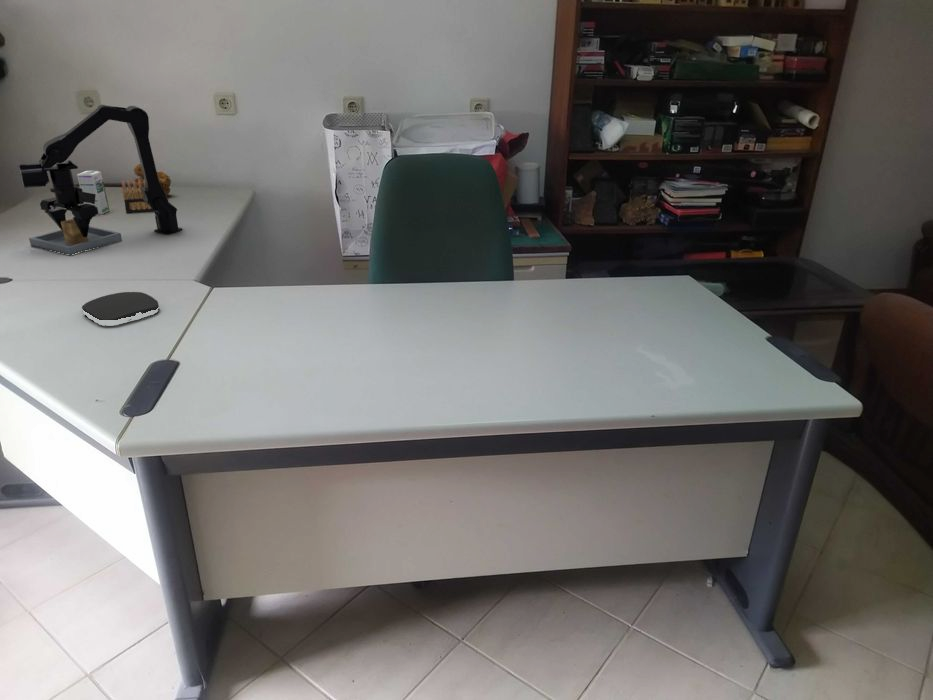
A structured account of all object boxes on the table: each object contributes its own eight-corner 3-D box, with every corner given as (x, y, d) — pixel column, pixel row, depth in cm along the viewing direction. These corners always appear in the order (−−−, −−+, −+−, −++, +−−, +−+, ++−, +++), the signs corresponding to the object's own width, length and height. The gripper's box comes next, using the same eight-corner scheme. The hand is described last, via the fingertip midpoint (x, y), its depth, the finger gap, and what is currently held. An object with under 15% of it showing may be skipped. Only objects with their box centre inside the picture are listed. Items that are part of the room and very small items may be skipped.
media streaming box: (137, 297, 171) (135, 286, 170) (165, 313, 163) (163, 302, 162) (78, 313, 161) (75, 302, 159) (105, 331, 153) (103, 319, 151)
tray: (122, 240, 211) (120, 232, 210) (70, 255, 196) (68, 247, 195) (83, 231, 217) (81, 224, 216) (30, 246, 203) (28, 238, 201)
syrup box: (102, 215, 235) (93, 174, 229) (85, 214, 235) (76, 173, 229) (110, 210, 240) (101, 170, 234) (94, 210, 240) (85, 170, 234)
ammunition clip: (126, 213, 238) (119, 180, 233) (126, 212, 240) (119, 179, 234) (158, 211, 242) (152, 178, 237) (158, 210, 243) (152, 177, 238)
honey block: (88, 240, 207) (83, 220, 204) (75, 244, 204) (70, 223, 201) (78, 238, 209) (74, 218, 206) (65, 242, 205) (60, 221, 202)
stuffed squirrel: (136, 194, 263) (130, 161, 257) (174, 193, 267) (169, 160, 261) (134, 200, 254) (127, 166, 248) (173, 199, 259) (167, 165, 253)
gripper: (108, 183, 201) (118, 232, 209) (67, 175, 208) (78, 223, 215) (75, 190, 192) (87, 242, 199) (33, 182, 199) (46, 232, 206)
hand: (75, 234), depth 205 cm, fingers open, 9 cm apart
